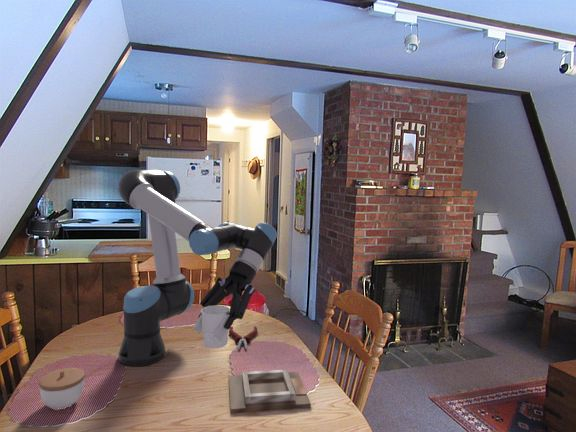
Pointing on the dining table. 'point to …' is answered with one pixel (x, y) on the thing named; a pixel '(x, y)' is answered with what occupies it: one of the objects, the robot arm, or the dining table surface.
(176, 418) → the dining table surface
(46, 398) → the lidded jar
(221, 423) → the dining table surface
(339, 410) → the dining table surface
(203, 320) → the white cup
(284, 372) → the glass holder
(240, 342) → the pliers
